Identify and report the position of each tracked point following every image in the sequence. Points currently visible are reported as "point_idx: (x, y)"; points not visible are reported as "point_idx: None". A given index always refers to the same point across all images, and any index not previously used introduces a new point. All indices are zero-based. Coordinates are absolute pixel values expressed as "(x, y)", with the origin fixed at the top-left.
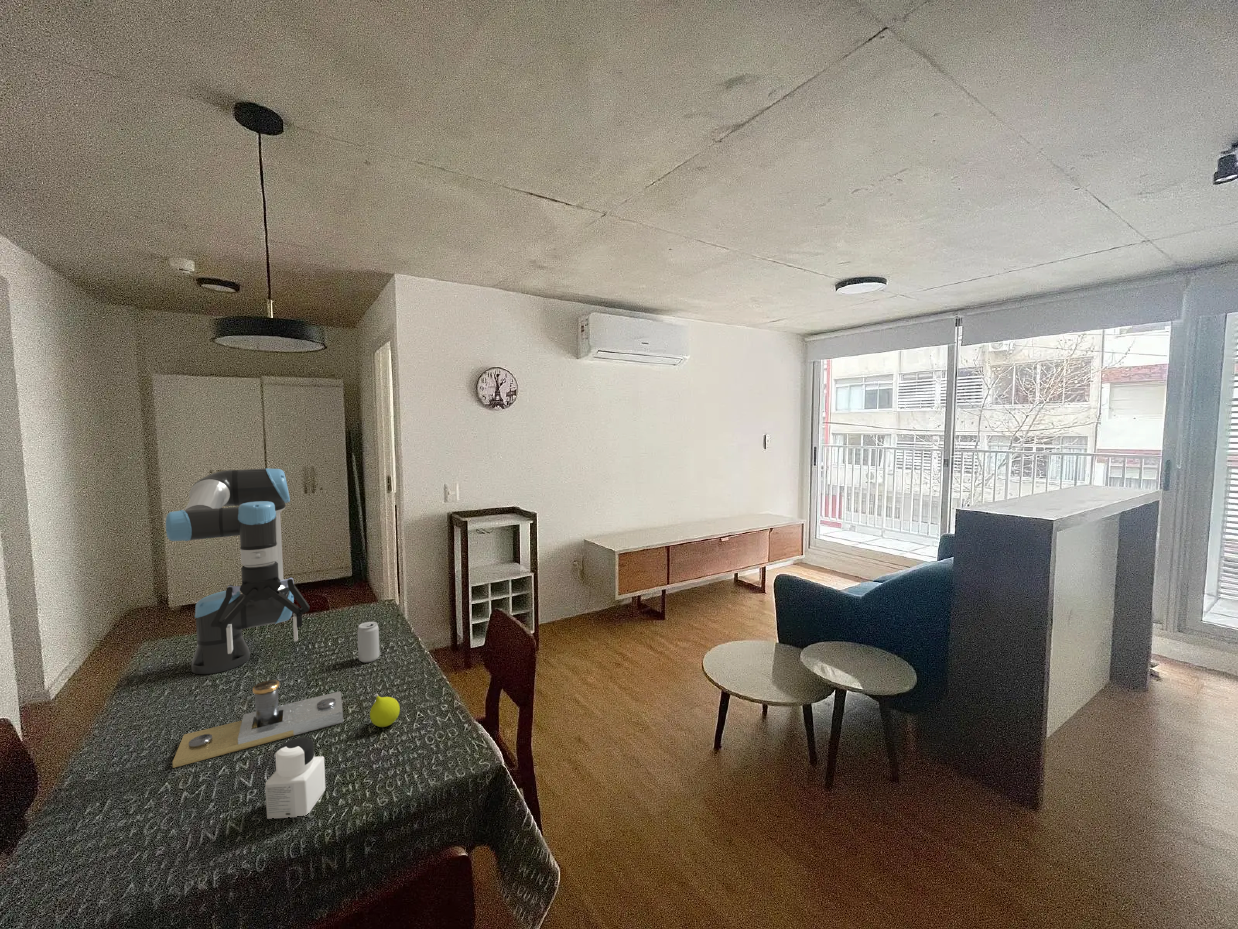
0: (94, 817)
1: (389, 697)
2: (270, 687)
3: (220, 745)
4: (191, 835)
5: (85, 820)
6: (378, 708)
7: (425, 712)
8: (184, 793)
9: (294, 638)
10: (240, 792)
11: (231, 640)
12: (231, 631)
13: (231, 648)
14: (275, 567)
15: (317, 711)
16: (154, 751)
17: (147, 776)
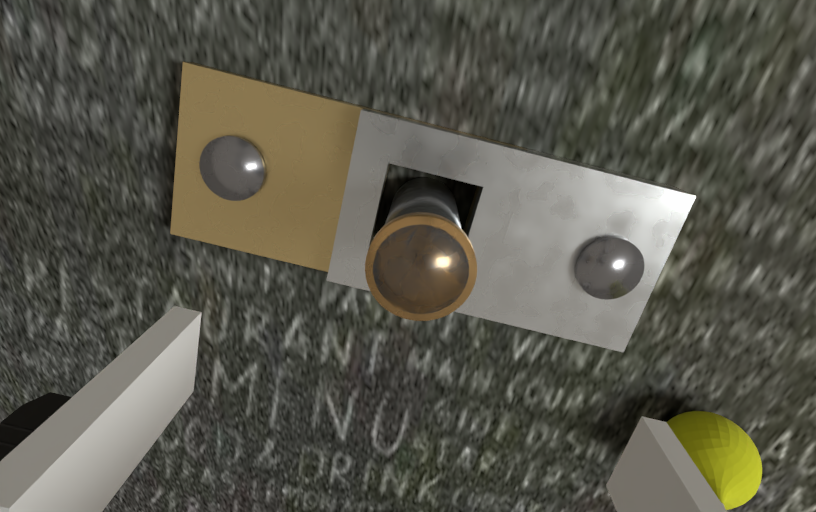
0: (52, 320)
1: (750, 490)
2: (431, 306)
3: (286, 239)
4: (237, 505)
5: (37, 318)
6: None
7: (798, 449)
8: (216, 366)
9: (620, 509)
10: (321, 446)
11: (138, 437)
12: (80, 474)
13: (174, 409)
14: None
15: (565, 292)
16: (115, 69)
17: (125, 220)
